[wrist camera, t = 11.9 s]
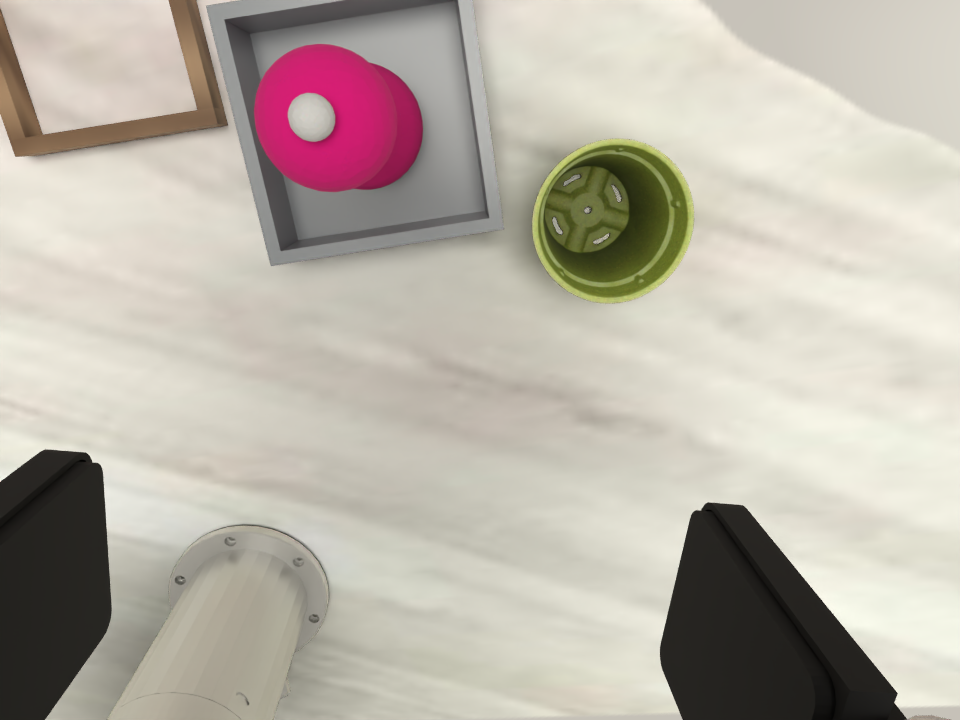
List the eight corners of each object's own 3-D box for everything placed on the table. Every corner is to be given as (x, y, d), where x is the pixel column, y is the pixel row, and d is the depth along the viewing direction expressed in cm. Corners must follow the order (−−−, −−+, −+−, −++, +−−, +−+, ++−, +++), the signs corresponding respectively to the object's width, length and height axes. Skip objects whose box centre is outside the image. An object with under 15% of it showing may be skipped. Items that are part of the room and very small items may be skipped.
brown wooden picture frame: (227, 125, 44) (217, 124, 42) (34, 156, 44) (15, 156, 42) (170, -102, 40) (156, -114, 38) (-43, -67, 40) (-68, -78, 38)
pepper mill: (430, 182, 45) (413, 209, 26) (322, 189, 45) (226, 221, 26) (420, 65, 43) (394, 2, 24) (307, 73, 43) (190, 14, 24)
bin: (497, 219, 47) (504, 229, 41) (292, 251, 47) (270, 266, 41) (465, -13, 42) (467, -37, 37) (237, 23, 42) (205, 5, 37)
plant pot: (559, 300, 49) (581, 332, 41) (493, 186, 46) (503, 195, 38) (673, 233, 48) (720, 251, 39) (612, 112, 45) (649, 105, 37)
